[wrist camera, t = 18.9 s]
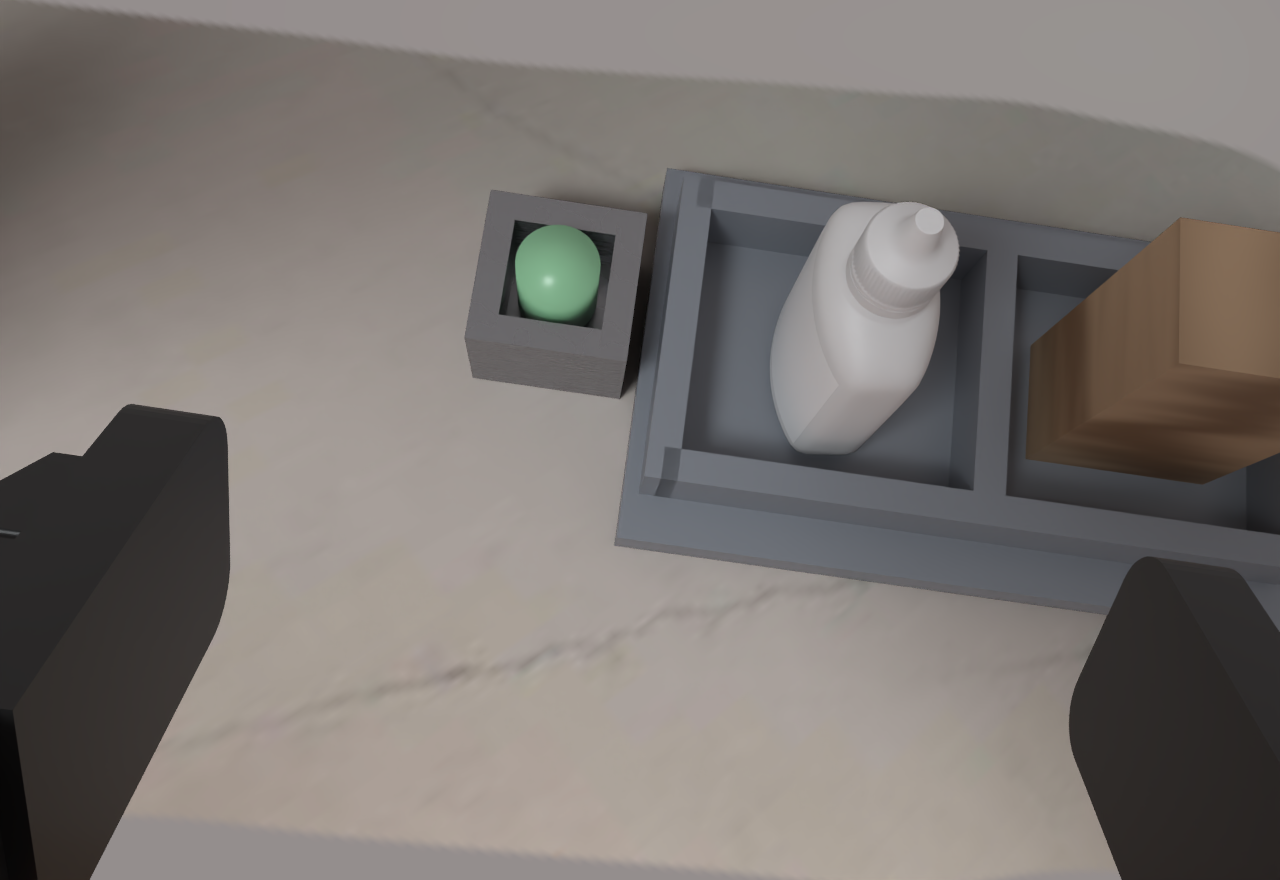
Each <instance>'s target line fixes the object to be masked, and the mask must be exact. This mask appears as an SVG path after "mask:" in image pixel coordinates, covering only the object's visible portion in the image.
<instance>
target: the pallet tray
mask: <svg viewBox="0 0 1280 880" xmlns="http://www.w3.org/2000/svg"><path fill="white" fill-rule="evenodd" d="M852 202H885V203H892V202H886V201H879V200H873V199H866V198H860V197H853V196H846V195H840V194H833V193H827V192H820V191H814V190H807V189H801V188H794V187H787V186H781V185H774V184H768V183H761V182H755V181H748V180H742V179H735V178H728V177H722V176H715V175H709V174H702V173H696V172H689V171H682V170H676V169H669V168H667V172H666V177H665V182H664V187H663V194H662V201H661V209H660V216H659V223H658V230H657V238H656V245H655V252H654V260H653V267H652V274H651V282H650V289H649V296H648V304H647V311H646V318H645V326H644V333H643V340H642V347H641V355H640V362H639V369H638V377H637V384H636V391H635V399H634V406H633V413H632V421H631V428H630V435H629V442H628V450H627V457H626V464H625V472H624V479H623V486H622V494H621V501H620V508H619V516H618V523H617V530H616V538H615V546H622V547H629V548H636V549H643V550H650V551H657V552H664V553H671V554H678V555H686V556H693V557H700V558H707V559H714V560H721V561H728V562H735V563H742V564H749V565H757V566H764V567H771V568H778V569H785V570H792V571H799V572H806V573H813V574H821V575H828V576H835V577H842V578H849V579H856V580H863V581H870V582H877V583H884V584H892V585H899V586H906V587H913V588H920V589H927V590H934V591H941V592H948V593H955V594H963V595H970V596H977V597H984V598H991V599H998V600H1005V601H1012V602H1019V603H1026V604H1034V605H1041V606H1048V607H1055V608H1062V609H1069V610H1076V611H1083V612H1090V613H1097V614H1105V615H1108V613H1109V611H1110V609H1111V606H1112V604H1113V602H1114V600H1115V598H1116V596H1117V593H1118V591H1119V589H1120V587H1121V585H1122V582H1123V580H1124V578H1125V576H1126V574H1127V572H1128V571H1129V570H1130V568H1131V567H1132V565H1133V564H1134V563H1135V562H1136V561H1138V560H1139V559H1141V558H1143V557H1146V556H1150V557H1158V558H1165V559H1172V560H1178V561H1185V562H1192V563H1199V564H1206V565H1212V566H1219V567H1226V568H1231V569H1233V570H1235V571H1237V572H1238V573H1239V574H1240V575H1241V576H1242V577H1243V578H1244V580H1245V581H1246V583H1247V584H1248V586H1249V587H1250V589H1251V590H1252V591H1253V593H1254V594H1255V596H1256V597H1257V599H1258V600H1259V602H1260V603H1261V605H1262V606H1263V608H1264V609H1265V611H1266V612H1267V614H1268V615H1269V617H1270V618H1271V620H1272V621H1273V623H1274V624H1275V626H1276V627H1277V629H1278V630H1279V632H1280V453H1278V454H1275V455H1273V456H1270V457H1268V458H1266V459H1263V460H1261V461H1258V462H1256V463H1254V464H1251V465H1249V466H1246V467H1244V468H1242V469H1239V470H1237V471H1234V472H1232V473H1229V474H1227V475H1225V476H1222V477H1220V478H1217V479H1215V480H1213V481H1210V482H1208V483H1205V484H1203V485H1201V484H1194V483H1187V482H1180V481H1173V480H1166V479H1160V478H1153V477H1146V476H1139V475H1132V474H1125V473H1118V472H1111V471H1104V470H1098V469H1091V468H1084V467H1077V466H1070V465H1063V464H1056V463H1049V462H1043V461H1036V460H1029V459H1025V458H1026V436H1027V414H1028V393H1029V371H1030V349H1031V345H1032V344H1033V343H1034V342H1035V341H1036V340H1038V339H1039V338H1040V337H1041V336H1042V335H1043V334H1045V333H1046V332H1047V331H1048V330H1049V329H1050V328H1052V327H1053V326H1054V325H1055V324H1056V323H1058V322H1059V321H1060V320H1061V319H1062V318H1063V317H1065V316H1066V315H1067V314H1068V313H1069V312H1070V311H1072V310H1073V309H1074V308H1075V307H1076V306H1077V305H1079V304H1080V303H1081V302H1082V301H1083V300H1084V299H1086V298H1087V297H1088V296H1089V295H1090V294H1091V293H1093V292H1094V291H1095V290H1096V289H1097V288H1098V287H1100V286H1101V285H1102V284H1103V283H1104V282H1106V281H1107V280H1108V279H1109V278H1110V277H1111V276H1113V275H1114V274H1115V273H1116V272H1117V271H1118V270H1120V269H1121V268H1122V267H1123V266H1124V265H1125V264H1127V263H1128V262H1129V261H1130V260H1131V259H1132V258H1134V257H1135V256H1136V255H1137V254H1138V253H1139V252H1141V251H1142V250H1143V249H1144V248H1145V247H1146V246H1148V245H1149V244H1150V243H1151V242H1148V241H1142V240H1135V239H1128V238H1122V237H1115V236H1109V235H1102V234H1096V233H1089V232H1083V231H1076V230H1069V229H1063V228H1056V227H1050V226H1043V225H1037V224H1030V223H1024V222H1017V221H1010V220H1004V219H997V218H991V217H984V216H978V215H971V214H964V213H958V212H951V211H945V210H938V209H937V210H938V211H940V212H941V214H942V215H943V216H945V218H946V219H948V222H950V223H951V226H952V227H953V228H954V231H955V232H956V235H957V236H958V237H957V239H958V241H959V242H958V244H959V246H960V247H959V250H960V252H959V255H960V256H959V257H958V259H959V261H958V262H957V264H958V265H957V266H956V269H955V271H954V272H953V274H952V275H951V277H950V278H949V279H948V281H947V282H946V283H945V284H944V285H943V287H942V288H941V289H940V318H939V326H938V332H937V338H936V342H935V346H934V350H933V353H932V356H931V359H930V362H929V365H928V367H927V370H926V372H925V374H924V376H923V378H922V380H921V382H920V384H919V385H918V387H917V388H916V389H915V390H914V392H913V393H912V394H911V395H910V396H909V397H908V398H907V399H906V400H905V402H904V403H903V404H902V405H901V406H900V407H899V408H898V409H897V410H896V411H895V412H894V413H893V414H892V415H891V416H890V417H889V418H888V419H887V420H886V421H885V422H884V423H883V424H882V425H881V426H880V427H879V428H878V429H877V430H876V431H875V432H874V433H873V434H872V435H871V436H870V437H869V438H868V439H867V440H866V441H865V442H864V443H863V444H862V445H861V446H860V447H859V448H858V449H857V450H856V451H855V452H853V453H850V454H846V455H815V454H804V453H801V452H798V451H796V450H795V449H794V448H793V447H792V446H791V445H790V443H789V441H788V439H787V438H786V436H785V434H784V431H783V429H782V427H781V424H780V421H779V419H778V416H777V413H776V409H775V405H774V401H773V397H772V391H771V383H770V354H771V346H772V341H773V336H774V332H775V328H776V324H777V321H778V318H779V315H780V313H781V310H782V308H783V305H784V303H785V301H786V299H787V297H788V296H789V294H790V292H791V290H792V288H793V286H794V284H795V282H796V280H797V278H798V276H799V274H800V272H801V270H802V268H803V267H804V265H805V263H806V261H807V259H808V257H809V255H810V253H811V251H812V249H813V248H814V246H815V244H816V242H817V240H818V238H819V236H820V234H821V232H822V231H823V229H824V227H825V226H826V224H827V222H828V220H829V219H830V217H831V216H832V215H833V213H834V212H835V211H836V210H837V209H839V208H840V207H841V206H843V205H846V204H849V203H852ZM895 204H897V203H895Z"/></svg>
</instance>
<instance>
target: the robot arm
mask: <svg viewBox="0 0 1280 880" xmlns="http://www.w3.org/2000/svg"><path fill="white" fill-rule="evenodd" d="M229 574H230V533H229V487H228V444H227V433H226V428H225V425H224V423H223V421H222V419H221V418H220V417H216V416H209V415H203V414H196V413H189V412H182V411H176V410H169V409H162V408H155V407H148V406H142V405H135V404H129V405H126V406H125V407H123V408H122V409H121V410H120V411H119V412H118V414H117V415H116V416H115V417H114V418H113V420H112V421H111V422H110V423H109V425H108V426H107V427H106V428H105V429H104V431H103V432H102V433H101V434H100V436H99V437H98V438H97V439H96V440H95V442H94V443H93V444H92V445H91V446H90V448H89V449H88V450H87V451H86V453H85V454H84V455H83V456H76V455H69V454H62V453H55V452H53V453H51V454H49V455H47V456H45V457H43V458H41V459H40V460H38V461H36V462H34V463H32V464H30V465H28V466H26V467H25V468H23V469H21V470H19V471H17V472H15V473H13V474H12V475H10V476H8V477H6V478H4V479H2V480H0V880H90V878H91V876H92V874H93V872H94V870H95V868H96V866H97V864H98V862H99V860H100V858H101V856H102V854H103V852H104V850H105V848H106V846H107V844H108V842H109V840H110V838H111V837H112V835H113V833H114V831H115V829H116V827H117V825H118V823H119V821H120V819H121V817H122V815H123V813H124V811H125V809H126V807H127V805H128V803H129V801H130V799H131V797H132V796H133V794H134V792H135V790H136V788H137V786H138V784H139V782H140V780H141V778H142V776H143V774H144V772H145V770H146V768H147V766H148V764H149V762H150V760H151V758H152V756H153V754H154V752H155V751H156V749H157V747H158V745H159V743H160V741H161V739H162V737H163V735H164V733H165V731H166V729H167V727H168V725H169V723H170V721H171V719H172V717H173V715H174V713H175V711H176V709H177V707H178V705H179V704H180V702H181V700H182V698H183V696H184V694H185V692H186V690H187V688H188V686H189V684H190V682H191V680H192V678H193V676H194V674H195V672H196V670H197V668H198V666H199V664H200V662H201V660H202V658H203V657H204V655H205V653H206V651H207V649H208V647H209V645H210V643H211V641H212V639H213V637H214V635H215V632H216V630H217V627H218V625H219V622H220V619H221V616H222V612H223V609H224V605H225V600H226V595H227V590H228V583H229ZM1069 734H1070V743H1071V747H1072V752H1073V755H1074V758H1075V761H1076V763H1077V766H1078V768H1079V771H1080V774H1081V776H1082V779H1083V781H1084V784H1085V786H1086V789H1087V792H1088V794H1089V797H1090V799H1091V802H1092V804H1093V807H1094V810H1095V812H1096V815H1097V817H1098V820H1099V822H1100V825H1101V828H1102V830H1103V833H1104V835H1105V838H1106V840H1107V843H1108V846H1109V848H1110V851H1111V853H1112V856H1113V859H1114V861H1115V864H1116V866H1117V869H1118V871H1119V874H1120V876H1121V879H1122V880H1280V632H1279V630H1278V629H1277V627H1276V626H1275V624H1274V623H1273V621H1272V620H1271V618H1270V617H1269V615H1268V614H1267V612H1266V611H1265V609H1264V608H1263V606H1262V605H1261V603H1260V602H1259V600H1258V599H1257V597H1256V596H1255V594H1254V593H1253V591H1252V590H1251V589H1250V587H1249V586H1248V584H1247V583H1246V581H1245V580H1244V578H1243V577H1242V576H1241V575H1240V574H1239V573H1238V572H1237V571H1235V570H1233V569H1231V568H1226V567H1219V566H1212V565H1206V564H1199V563H1192V562H1185V561H1178V560H1172V559H1165V558H1158V557H1150V556H1146V557H1143V558H1141V559H1139V560H1138V561H1136V562H1135V563H1134V564H1133V565H1132V567H1131V568H1130V570H1129V571H1128V572H1127V574H1126V576H1125V578H1124V580H1123V582H1122V585H1121V587H1120V589H1119V591H1118V593H1117V596H1116V598H1115V600H1114V602H1113V604H1112V606H1111V609H1110V611H1109V613H1108V615H1107V617H1106V620H1105V622H1104V624H1103V626H1102V628H1101V631H1100V633H1099V635H1098V637H1097V639H1096V641H1095V644H1094V646H1093V648H1092V650H1091V652H1090V655H1089V657H1088V659H1087V661H1086V663H1085V666H1084V668H1083V670H1082V672H1081V674H1080V677H1079V679H1078V681H1077V683H1076V686H1075V689H1074V692H1073V696H1072V700H1071V706H1070V714H1069Z"/></svg>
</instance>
